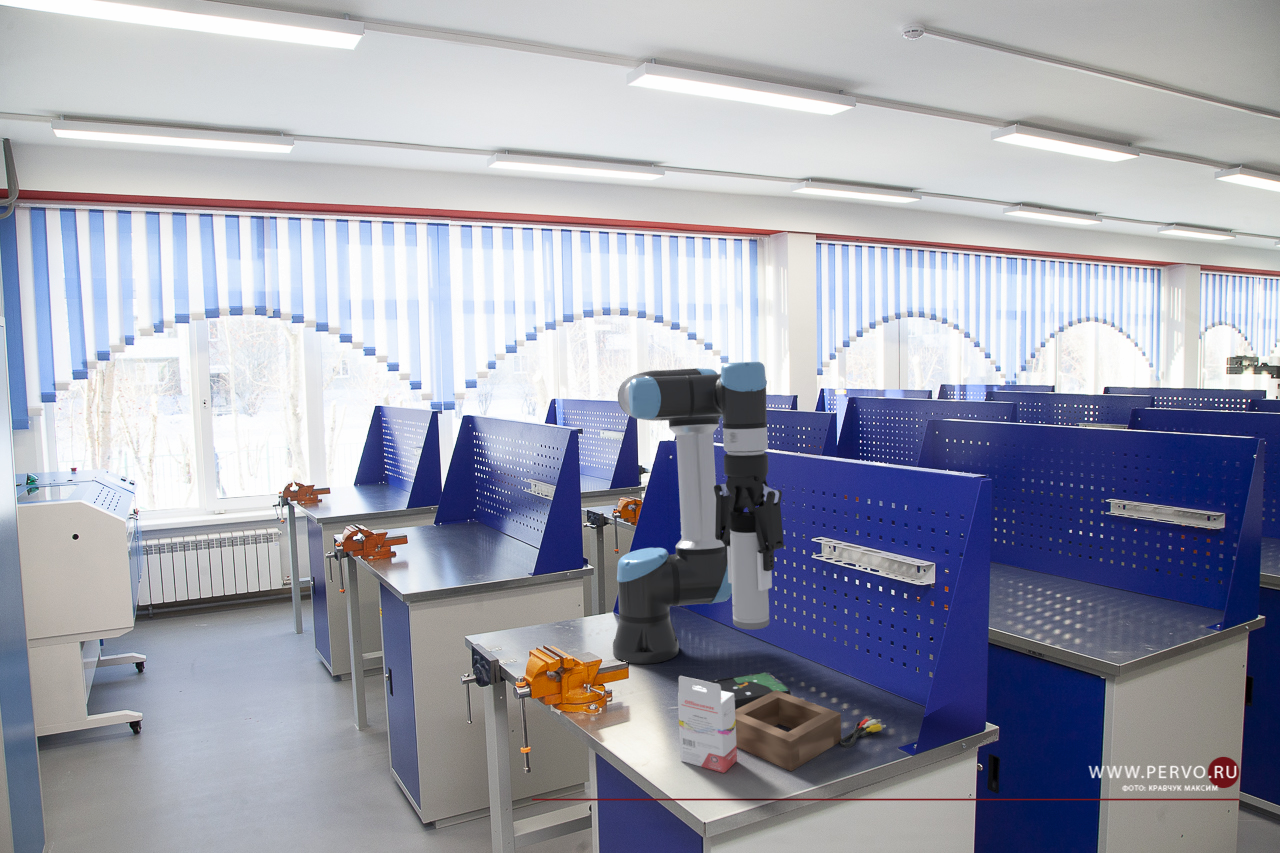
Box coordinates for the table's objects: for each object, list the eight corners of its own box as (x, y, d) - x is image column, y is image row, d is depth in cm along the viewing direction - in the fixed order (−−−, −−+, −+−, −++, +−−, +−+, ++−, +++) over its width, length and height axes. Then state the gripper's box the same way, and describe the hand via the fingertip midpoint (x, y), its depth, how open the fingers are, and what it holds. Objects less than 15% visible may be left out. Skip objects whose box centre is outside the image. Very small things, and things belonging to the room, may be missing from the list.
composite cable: (847, 750, 134) (847, 736, 133) (827, 739, 138) (826, 726, 137) (887, 734, 139) (887, 721, 138) (866, 724, 143) (866, 711, 143)
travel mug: (724, 624, 137) (720, 511, 136) (750, 616, 141) (747, 505, 140) (750, 633, 132) (746, 515, 131) (776, 623, 136) (773, 509, 135)
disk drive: (721, 716, 149) (792, 703, 153) (721, 702, 149) (792, 689, 153) (701, 695, 159) (768, 682, 163) (701, 681, 158) (768, 669, 163)
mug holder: (726, 742, 137) (725, 714, 137) (777, 715, 147) (776, 690, 146) (791, 771, 127) (790, 741, 127) (841, 741, 136) (840, 713, 136)
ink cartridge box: (738, 760, 131) (735, 675, 130) (724, 774, 127) (721, 686, 126) (693, 748, 136) (690, 665, 135) (678, 761, 132) (675, 675, 130)
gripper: (690, 451, 140) (695, 579, 141) (774, 457, 125) (778, 600, 127) (720, 447, 144) (724, 571, 146) (804, 453, 130) (808, 590, 131)
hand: (749, 584), depth 136 cm, fingers closed on travel mug, 6 cm apart
